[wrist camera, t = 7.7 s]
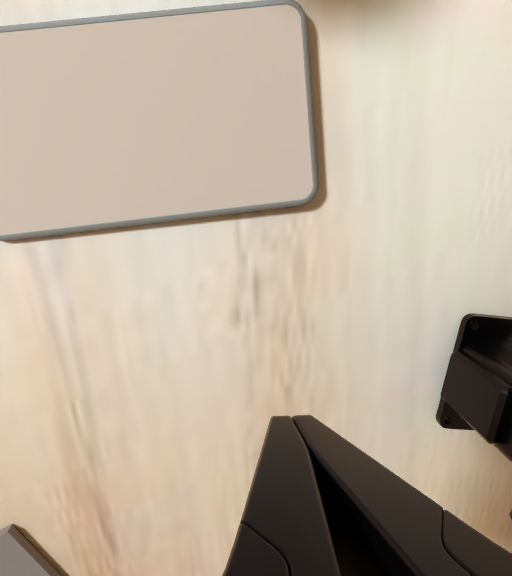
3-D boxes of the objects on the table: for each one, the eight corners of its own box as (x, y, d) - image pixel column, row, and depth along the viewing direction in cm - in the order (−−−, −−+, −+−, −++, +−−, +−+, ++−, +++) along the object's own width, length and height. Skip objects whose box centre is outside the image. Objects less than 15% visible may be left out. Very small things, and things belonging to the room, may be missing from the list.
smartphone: (-79, 31, 16) (306, -7, 17) (-62, 39, 17) (301, 2, 18) (-16, 244, 18) (320, 204, 19) (-5, 241, 19) (315, 202, 20)
